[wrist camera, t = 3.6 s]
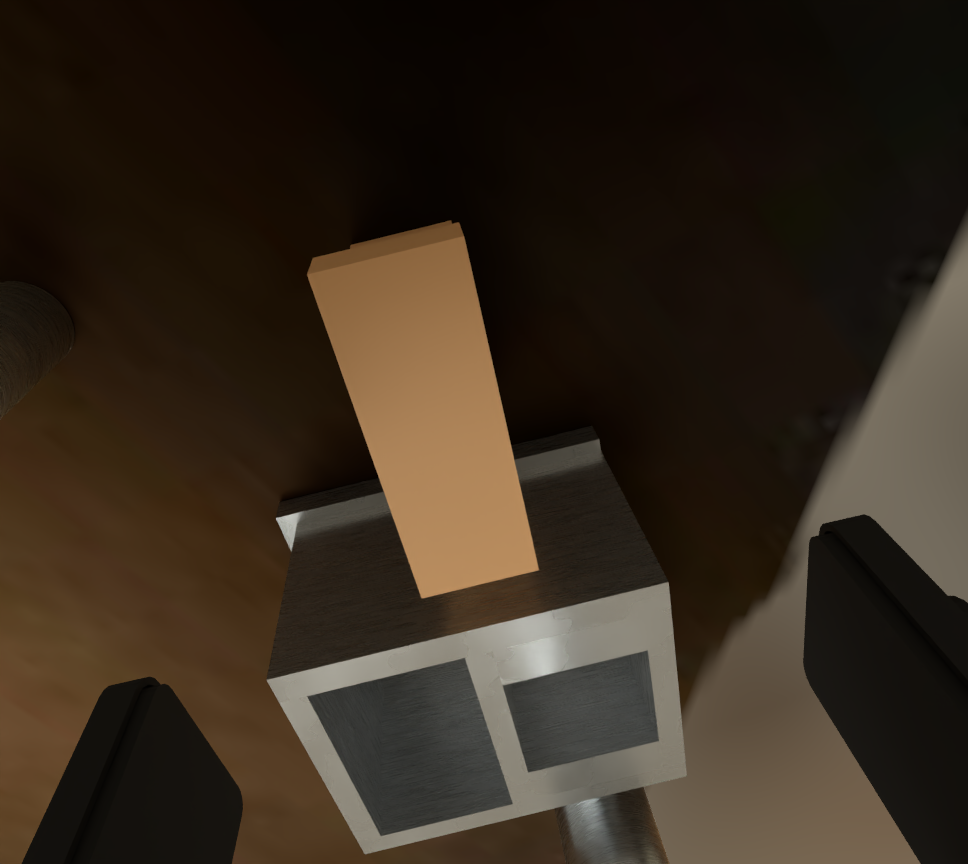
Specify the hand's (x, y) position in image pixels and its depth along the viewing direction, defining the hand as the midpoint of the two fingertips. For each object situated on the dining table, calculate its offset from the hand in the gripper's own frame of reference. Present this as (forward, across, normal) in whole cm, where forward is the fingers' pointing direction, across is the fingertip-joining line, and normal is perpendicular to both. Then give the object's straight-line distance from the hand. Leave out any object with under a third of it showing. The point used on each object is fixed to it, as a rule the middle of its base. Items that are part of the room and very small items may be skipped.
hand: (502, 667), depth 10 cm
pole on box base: (+15, +2, +13) cm, 20 cm away
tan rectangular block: (+15, +1, 0) cm, 15 cm away
